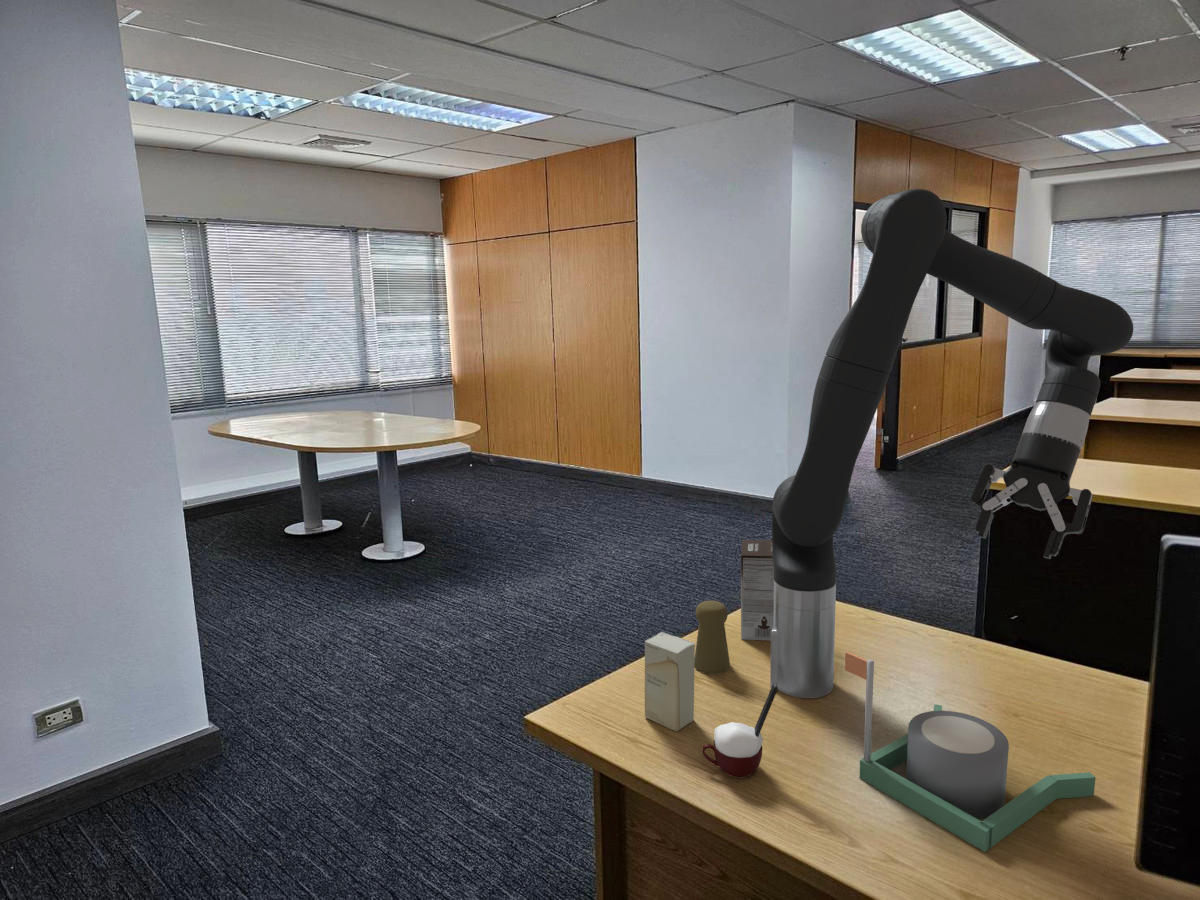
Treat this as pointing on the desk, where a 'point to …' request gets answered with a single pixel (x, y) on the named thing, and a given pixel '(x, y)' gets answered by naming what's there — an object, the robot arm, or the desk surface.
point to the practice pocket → (937, 809)
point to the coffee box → (757, 590)
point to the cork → (711, 638)
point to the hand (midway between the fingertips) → (1013, 547)
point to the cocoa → (740, 744)
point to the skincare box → (669, 680)
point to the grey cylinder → (958, 760)
